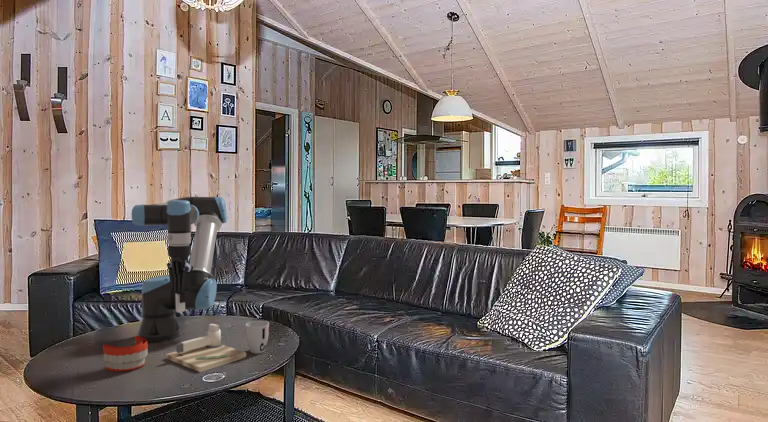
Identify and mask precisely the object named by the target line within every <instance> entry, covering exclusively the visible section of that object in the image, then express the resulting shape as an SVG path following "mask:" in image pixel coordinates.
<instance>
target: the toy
mask: <svg viewBox="0 0 768 422" xmlns="http://www.w3.org/2000/svg"><path fill="white" fill-rule="evenodd" d="M134 339H135V344H134V345H130V346H115V345H110V344H102V351H103V353H102V354H103V361H104V363H105V366H104V369H105V370H106V371H110V372H117V373H123V372H130V371H134V370H135V371H136V370H137V369H140V368H142V367H144V365H145V364H146V357H147V356H148V355H149V353H148V352H149V351H148V348H149V344H148V343H149V342H147V340H146V339H145V338H142V337H139V336H138V335H135V336H134Z"/></svg>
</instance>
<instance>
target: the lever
mask: <svg viewBox="0 0 768 422" xmlns="http://www.w3.org/2000/svg"><path fill="white" fill-rule="evenodd" d="M206 331H207V332H206V333H207V335H203V336H199V337H196V338H192V339H189V340H184V341H180V342H179V343H177V344H176V351H177V353H180V352H185V351H189V350H192V349H196V348H199V347H203V346H206V345H208V346H210V347H215V346H219V345H221V343H222V336H221V335H222V330H221V329H220V325H218V324H215V323H210V324H209V323H208V330H206Z"/></svg>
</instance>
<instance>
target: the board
mask: <svg viewBox="0 0 768 422" xmlns="http://www.w3.org/2000/svg"><path fill="white" fill-rule="evenodd" d="M165 356H166V357H165V359H167V360H169V361H172V362H174V363H176V364H178V365H181V366H184V367H186V368H189V369H190V370H191V369H192V370H194V371H196V372H199V373H203V372H206V371H208V370H209V371H210V370H211V369H215V368H219V367H221V366H224V365H227V364H230V363H234V362H237V361H239V360H243V359H245V358H247V352H245V351H241V350H239V349H236V348H234V347H231V346H227V345H224V344H223V343H222V342H221V345H219V346H215V347H210V346H208V345H206V346H203V347H199V348H196V349H192V350H189V351H185V352H180V353H177V350H176V351H172V352H169V353H166V354H165Z"/></svg>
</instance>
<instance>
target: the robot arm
mask: <svg viewBox="0 0 768 422" xmlns="http://www.w3.org/2000/svg"><path fill="white" fill-rule="evenodd" d="M227 214H228V213H227V206H226V200H225V199H224V198H223V197H222V196H185V197H184V196H183V197H179V198H174V199H169V200H167V201H166V202H161V203H152V204H136V205H134V206H133V207H132V210H131V221H132V224H134V225H135V226H143V227H144V226H167V236H166V238H167V245H168V246H167V256H168V257H169V258H170V262H168V263H166V267H167V270H168V274H166V275H160V276H154V277H150V278H148V279H145V280H144V281H143V282H142V284H141V292H140V293H141V304H142V305H141V310H142V312H141V313H142V318H141V319H142V320H141V323H140V325H139V329H138V332H137V336H139V337H142V338H145V339H146V340H147V343H160V342H161V343H162V342H167V341H171V340H174V339H177V338H178V337H180V336H181V328H180V325H179V322H178V319H177V317H176V313H178V314H179V313H184V312H185V311H186V310H198V311H200V310H207V309H210V308H211V307H212V306H213V305H214V303H215V300H216V297H217V288H218V285H217V280H216V279H214V276H213V274H212V273H211V272H212V265H213V260H214V253H215V245H216V240H217V234H218V231H220V230H221V228H222V226H223V225H224V224H226V223H227V221H228V218H227V217H228V215H227ZM191 225H194V226H195V233H194V239H193V244H192V245H191V243H192V233H191V232H192V231H191V230H192V229H191ZM189 256H190V259H189Z"/></svg>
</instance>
